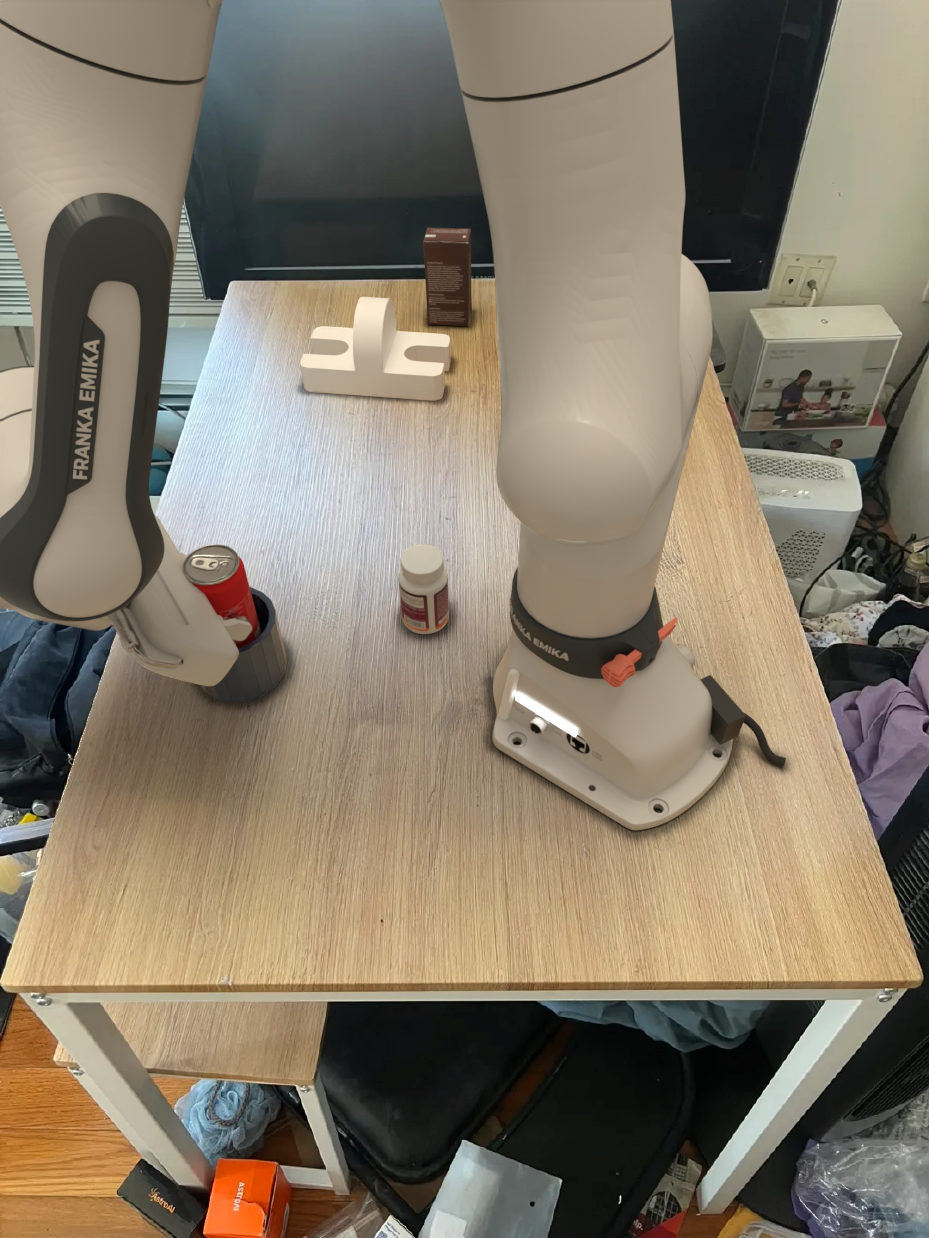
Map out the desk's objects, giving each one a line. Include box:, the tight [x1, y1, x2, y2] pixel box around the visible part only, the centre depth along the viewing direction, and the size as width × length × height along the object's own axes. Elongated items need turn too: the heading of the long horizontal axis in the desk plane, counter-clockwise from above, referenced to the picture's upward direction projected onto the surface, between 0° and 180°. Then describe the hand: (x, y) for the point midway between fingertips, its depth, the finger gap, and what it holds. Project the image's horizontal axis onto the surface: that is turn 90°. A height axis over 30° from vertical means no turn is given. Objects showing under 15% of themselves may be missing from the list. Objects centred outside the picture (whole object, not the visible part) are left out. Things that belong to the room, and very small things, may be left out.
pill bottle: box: [397, 543, 450, 635], centre depth 88 cm, size 5×5×8 cm
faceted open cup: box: [200, 586, 288, 704], centre depth 84 cm, size 8×8×7 cm
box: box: [422, 227, 473, 327], centre depth 123 cm, size 6×4×12 cm
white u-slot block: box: [299, 296, 451, 402], centre depth 115 cm, size 10×18×10 cm, turn 83°
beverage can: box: [182, 543, 262, 648], centre depth 81 cm, size 5×5×12 cm
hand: (231, 605), depth 81 cm, fingers closed on beverage can, 5 cm apart
